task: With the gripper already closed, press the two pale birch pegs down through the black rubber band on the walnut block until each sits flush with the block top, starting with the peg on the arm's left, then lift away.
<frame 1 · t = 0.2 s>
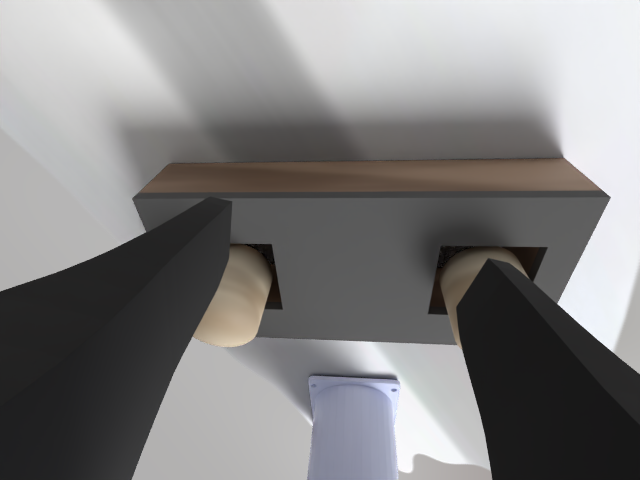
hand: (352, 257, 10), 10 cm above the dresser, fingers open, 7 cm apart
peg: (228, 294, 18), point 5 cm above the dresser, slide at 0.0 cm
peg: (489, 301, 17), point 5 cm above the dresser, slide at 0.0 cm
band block: (354, 236, 21), on the dresser
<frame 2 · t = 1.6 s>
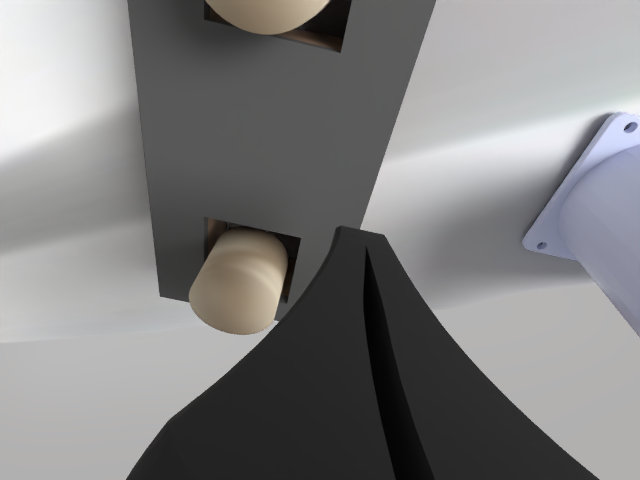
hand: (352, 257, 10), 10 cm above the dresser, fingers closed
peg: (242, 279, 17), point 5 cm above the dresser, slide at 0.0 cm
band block: (278, 118, 18), on the dresser
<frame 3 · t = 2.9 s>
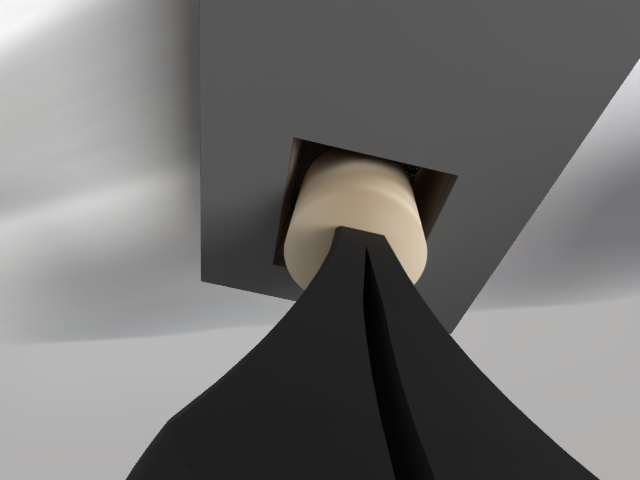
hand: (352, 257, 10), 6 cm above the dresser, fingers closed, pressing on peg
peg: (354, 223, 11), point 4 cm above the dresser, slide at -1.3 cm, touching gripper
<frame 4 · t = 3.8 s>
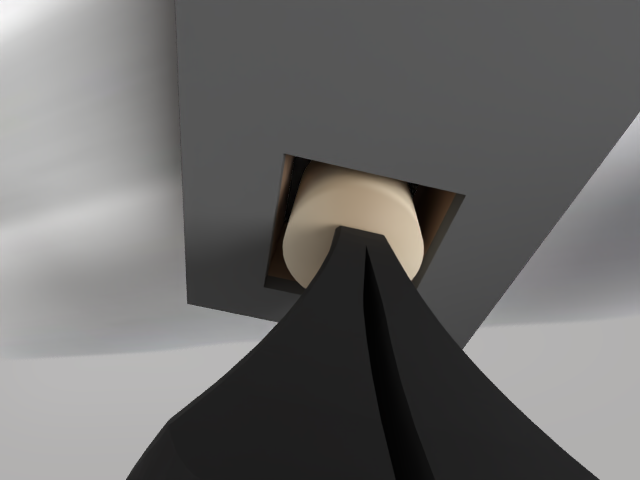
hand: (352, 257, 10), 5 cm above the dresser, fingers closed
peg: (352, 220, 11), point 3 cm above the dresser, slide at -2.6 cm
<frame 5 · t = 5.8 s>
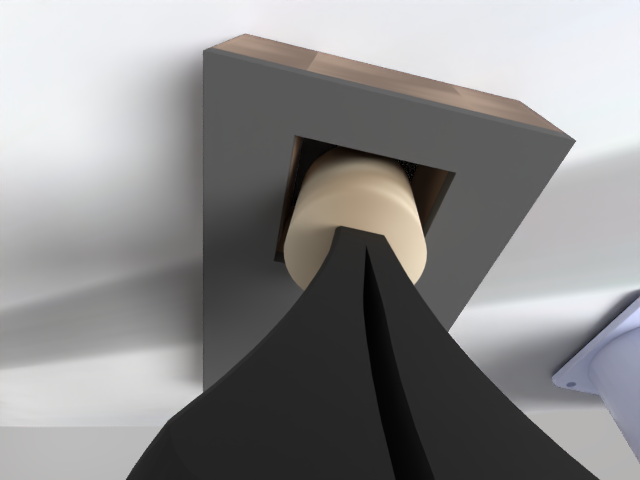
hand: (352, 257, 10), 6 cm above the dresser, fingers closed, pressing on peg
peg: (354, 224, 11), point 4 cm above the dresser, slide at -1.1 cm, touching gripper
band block: (323, 280, 18), on the dresser
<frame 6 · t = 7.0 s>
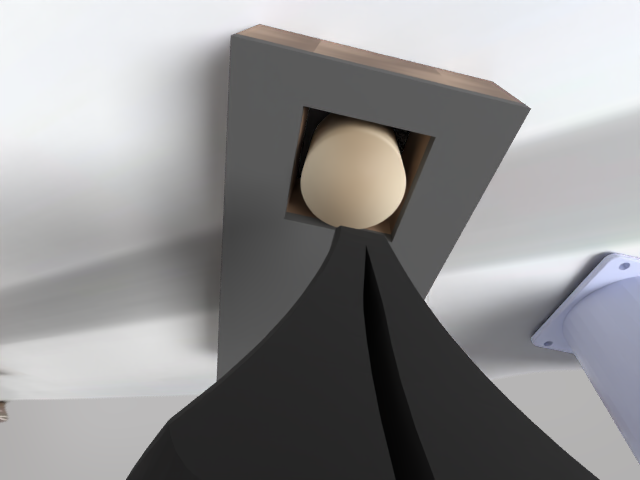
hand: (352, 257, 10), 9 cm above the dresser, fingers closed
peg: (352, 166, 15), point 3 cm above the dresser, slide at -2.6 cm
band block: (325, 247, 21), on the dresser
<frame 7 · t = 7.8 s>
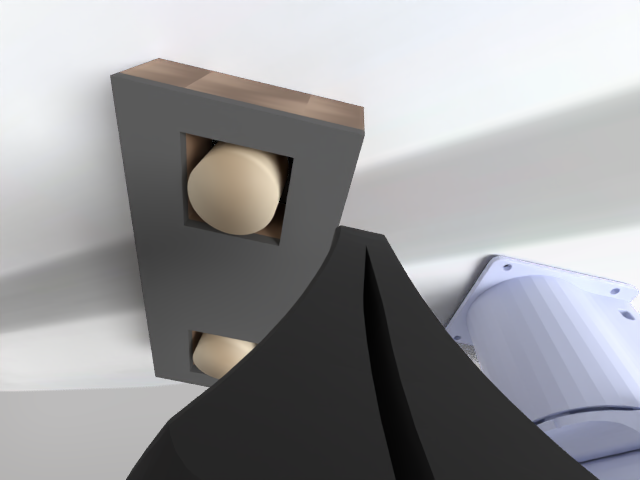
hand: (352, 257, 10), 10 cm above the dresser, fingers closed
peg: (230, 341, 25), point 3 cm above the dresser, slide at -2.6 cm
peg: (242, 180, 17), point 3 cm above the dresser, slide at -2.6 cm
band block: (246, 249, 23), on the dresser
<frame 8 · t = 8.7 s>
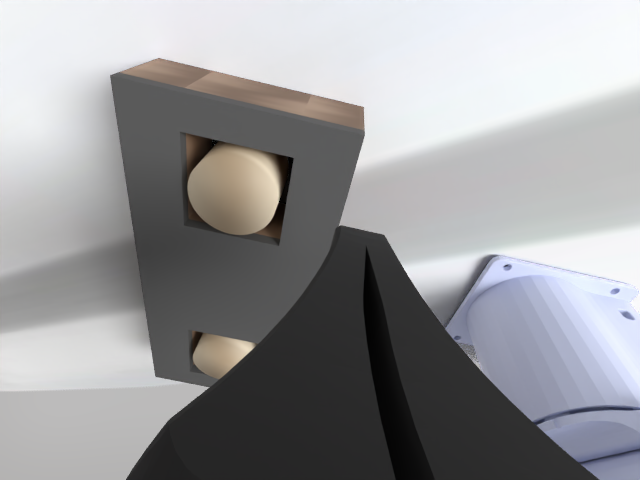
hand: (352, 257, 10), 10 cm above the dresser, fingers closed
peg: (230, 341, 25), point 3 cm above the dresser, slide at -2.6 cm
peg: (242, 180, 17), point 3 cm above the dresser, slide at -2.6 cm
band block: (246, 249, 23), on the dresser
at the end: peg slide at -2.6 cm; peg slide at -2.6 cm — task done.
